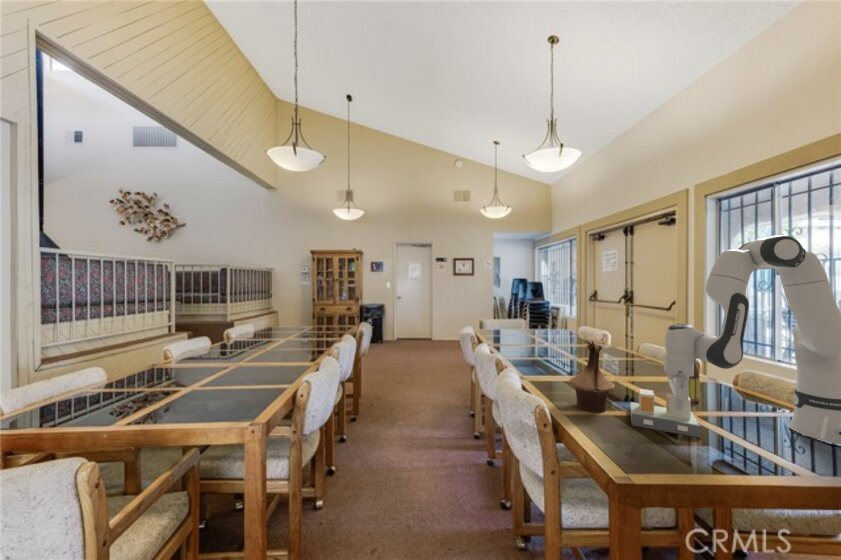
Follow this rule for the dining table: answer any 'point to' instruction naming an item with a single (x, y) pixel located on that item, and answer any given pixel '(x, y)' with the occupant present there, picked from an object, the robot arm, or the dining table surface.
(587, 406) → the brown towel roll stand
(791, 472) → the dining table surface
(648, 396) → the faced carton
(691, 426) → the shelf
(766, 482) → the dining table surface
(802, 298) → the robot arm
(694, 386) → the sauce bottle
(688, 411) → the turned carton
